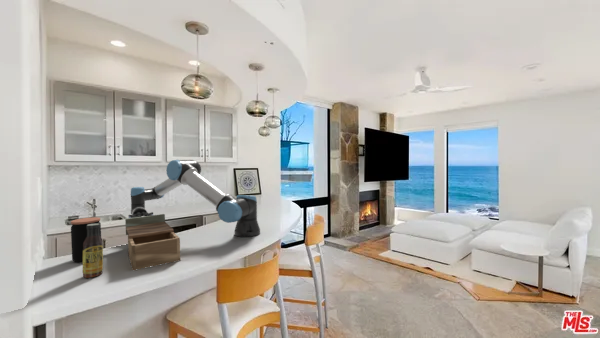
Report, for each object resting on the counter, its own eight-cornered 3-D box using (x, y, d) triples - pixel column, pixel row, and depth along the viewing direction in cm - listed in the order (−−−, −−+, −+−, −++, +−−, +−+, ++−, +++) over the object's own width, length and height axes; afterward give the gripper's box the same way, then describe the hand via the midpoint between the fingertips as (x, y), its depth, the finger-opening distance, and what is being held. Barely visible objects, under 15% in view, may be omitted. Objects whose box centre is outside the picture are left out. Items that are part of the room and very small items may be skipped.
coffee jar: (104, 253, 130) (102, 216, 130) (99, 260, 121) (97, 220, 120) (76, 257, 126) (74, 218, 125) (68, 265, 116) (66, 223, 116)
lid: (125, 234, 139) (125, 218, 139) (164, 228, 149) (164, 214, 149) (129, 245, 119) (128, 227, 119) (173, 238, 129) (173, 221, 129)
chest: (128, 255, 126) (127, 234, 126) (170, 248, 137) (169, 228, 137) (132, 270, 109) (131, 246, 108) (180, 260, 119) (179, 238, 119)
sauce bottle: (84, 280, 100) (82, 227, 100) (81, 276, 104) (78, 225, 104) (106, 274, 105) (104, 224, 105) (101, 270, 109) (99, 221, 109)
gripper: (152, 218, 169) (158, 225, 150) (127, 221, 161) (130, 229, 142) (151, 206, 169) (157, 211, 150) (126, 209, 161) (129, 215, 142)
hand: (144, 220), depth 146 cm, fingers closed
